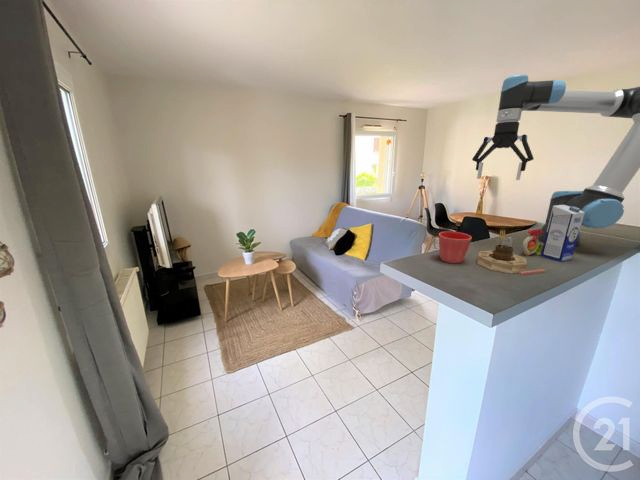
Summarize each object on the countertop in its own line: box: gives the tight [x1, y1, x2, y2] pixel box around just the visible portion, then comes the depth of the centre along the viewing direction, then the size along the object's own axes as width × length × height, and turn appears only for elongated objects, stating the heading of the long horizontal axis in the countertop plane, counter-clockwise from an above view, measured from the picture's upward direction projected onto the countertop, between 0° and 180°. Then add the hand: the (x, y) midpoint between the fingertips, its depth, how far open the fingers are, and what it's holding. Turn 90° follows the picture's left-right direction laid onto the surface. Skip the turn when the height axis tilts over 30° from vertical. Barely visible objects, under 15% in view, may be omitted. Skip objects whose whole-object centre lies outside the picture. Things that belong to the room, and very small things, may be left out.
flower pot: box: [438, 230, 473, 264], centre depth 99 cm, size 11×11×10 cm
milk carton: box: [540, 205, 585, 263], centre depth 99 cm, size 7×7×20 cm
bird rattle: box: [521, 228, 544, 256], centre depth 104 cm, size 6×11×9 cm
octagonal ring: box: [477, 249, 528, 274], centre depth 94 cm, size 14×14×3 cm
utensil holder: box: [492, 230, 514, 261], centre depth 93 cm, size 6×6×12 cm
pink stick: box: [518, 268, 547, 276], centre depth 88 cm, size 10×1×1 cm, turn 103°
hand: (497, 179), depth 107 cm, fingers open, 13 cm apart
